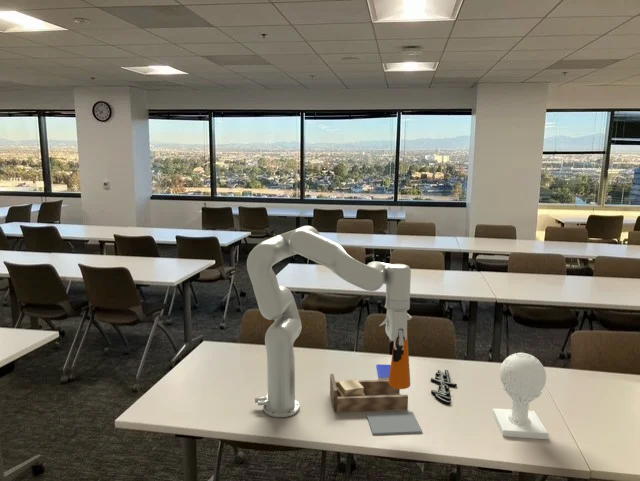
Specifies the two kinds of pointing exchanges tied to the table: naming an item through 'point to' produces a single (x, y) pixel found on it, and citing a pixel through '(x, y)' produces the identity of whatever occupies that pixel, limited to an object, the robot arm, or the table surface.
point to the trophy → (521, 396)
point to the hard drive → (383, 371)
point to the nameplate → (442, 387)
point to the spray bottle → (400, 366)
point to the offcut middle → (343, 395)
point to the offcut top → (350, 387)
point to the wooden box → (368, 397)
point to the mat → (393, 423)
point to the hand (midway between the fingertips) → (395, 357)
